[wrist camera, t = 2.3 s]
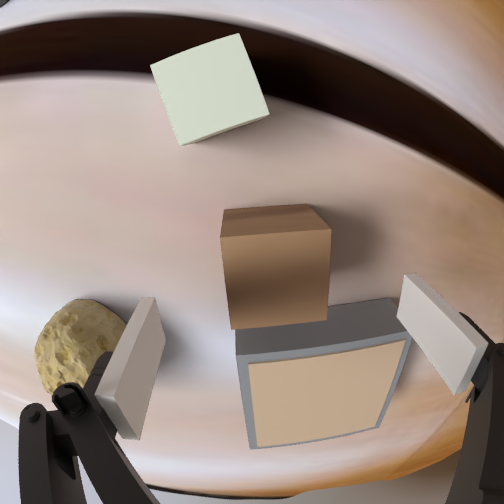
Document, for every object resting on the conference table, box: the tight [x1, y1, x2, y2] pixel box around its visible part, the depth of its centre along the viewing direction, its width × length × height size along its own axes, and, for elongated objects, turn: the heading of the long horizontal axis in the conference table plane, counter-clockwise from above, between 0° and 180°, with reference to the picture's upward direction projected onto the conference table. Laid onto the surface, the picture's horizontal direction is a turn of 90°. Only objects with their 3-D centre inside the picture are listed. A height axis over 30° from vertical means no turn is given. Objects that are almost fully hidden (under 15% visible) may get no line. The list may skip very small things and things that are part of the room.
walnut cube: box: [220, 204, 331, 330], centre depth 20 cm, size 6×6×6 cm
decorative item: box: [34, 299, 127, 395], centre depth 22 cm, size 10×10×10 cm
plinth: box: [235, 298, 412, 449], centre depth 25 cm, size 14×14×5 cm
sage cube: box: [150, 33, 269, 146], centre depth 16 cm, size 5×5×5 cm
